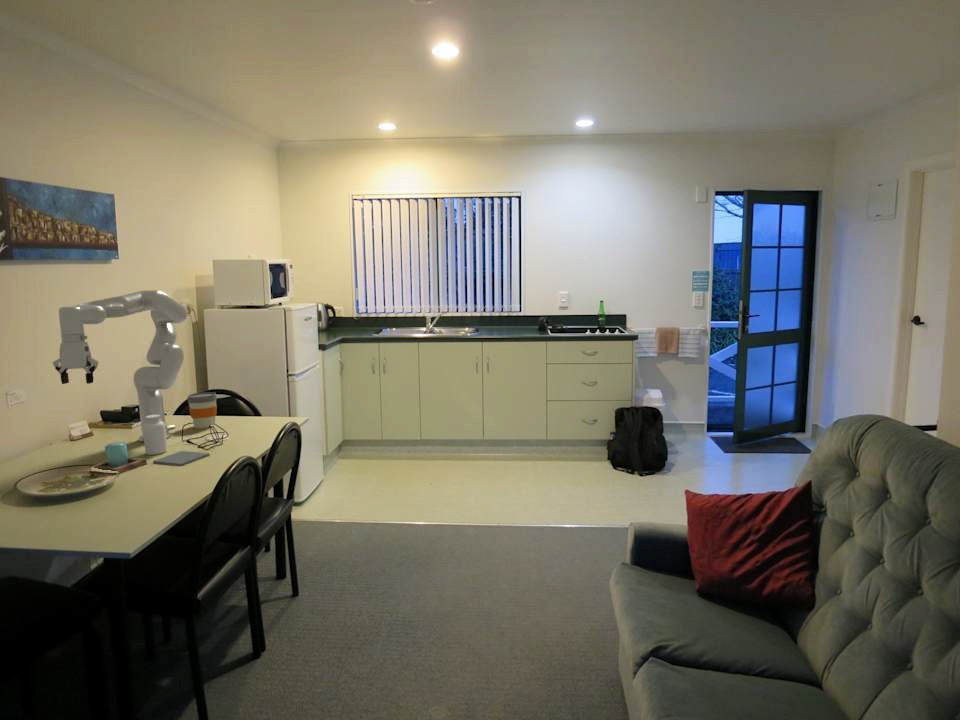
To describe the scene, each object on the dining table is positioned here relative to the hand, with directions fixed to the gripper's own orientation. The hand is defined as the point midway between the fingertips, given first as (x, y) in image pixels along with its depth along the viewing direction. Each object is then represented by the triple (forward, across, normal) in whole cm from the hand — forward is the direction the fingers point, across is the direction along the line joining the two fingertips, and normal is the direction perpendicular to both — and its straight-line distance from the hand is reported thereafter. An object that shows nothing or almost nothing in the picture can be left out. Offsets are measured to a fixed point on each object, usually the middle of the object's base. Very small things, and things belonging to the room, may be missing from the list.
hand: (77, 383), depth 248 cm
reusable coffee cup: (+29, -23, -52) cm, 64 cm away
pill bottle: (+30, -24, -8) cm, 39 cm away
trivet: (+30, -39, +2) cm, 49 cm away
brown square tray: (+30, -20, +12) cm, 38 cm away
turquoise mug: (+30, -20, +11) cm, 38 cm away
